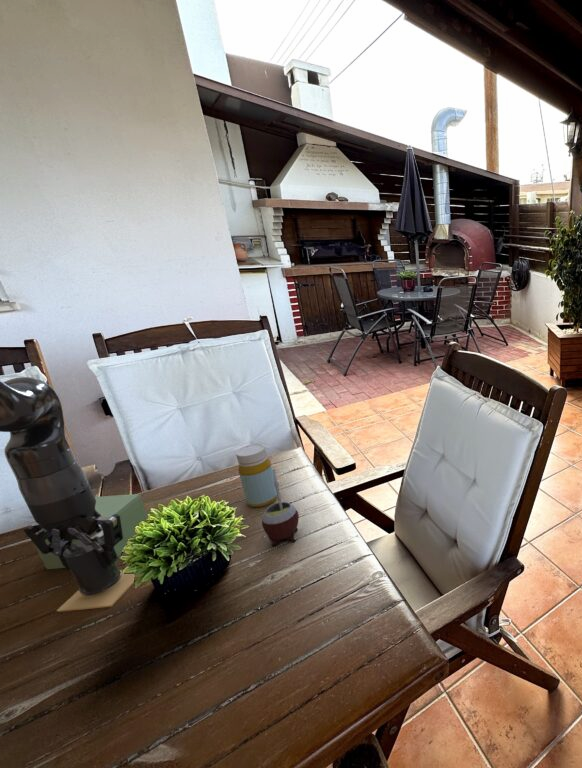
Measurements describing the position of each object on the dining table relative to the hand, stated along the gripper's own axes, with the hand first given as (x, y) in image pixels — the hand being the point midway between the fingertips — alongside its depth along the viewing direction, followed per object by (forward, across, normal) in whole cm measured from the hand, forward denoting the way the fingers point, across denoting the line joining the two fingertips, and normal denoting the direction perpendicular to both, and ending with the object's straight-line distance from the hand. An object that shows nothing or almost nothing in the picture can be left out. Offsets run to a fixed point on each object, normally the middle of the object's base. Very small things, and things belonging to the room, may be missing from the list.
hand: (92, 565), depth 75 cm
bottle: (+6, +18, +26) cm, 32 cm away
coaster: (+6, 0, 0) cm, 6 cm away
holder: (+4, 0, 0) cm, 4 cm away
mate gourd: (+6, +29, +11) cm, 32 cm away
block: (+6, -10, +13) cm, 18 cm away
